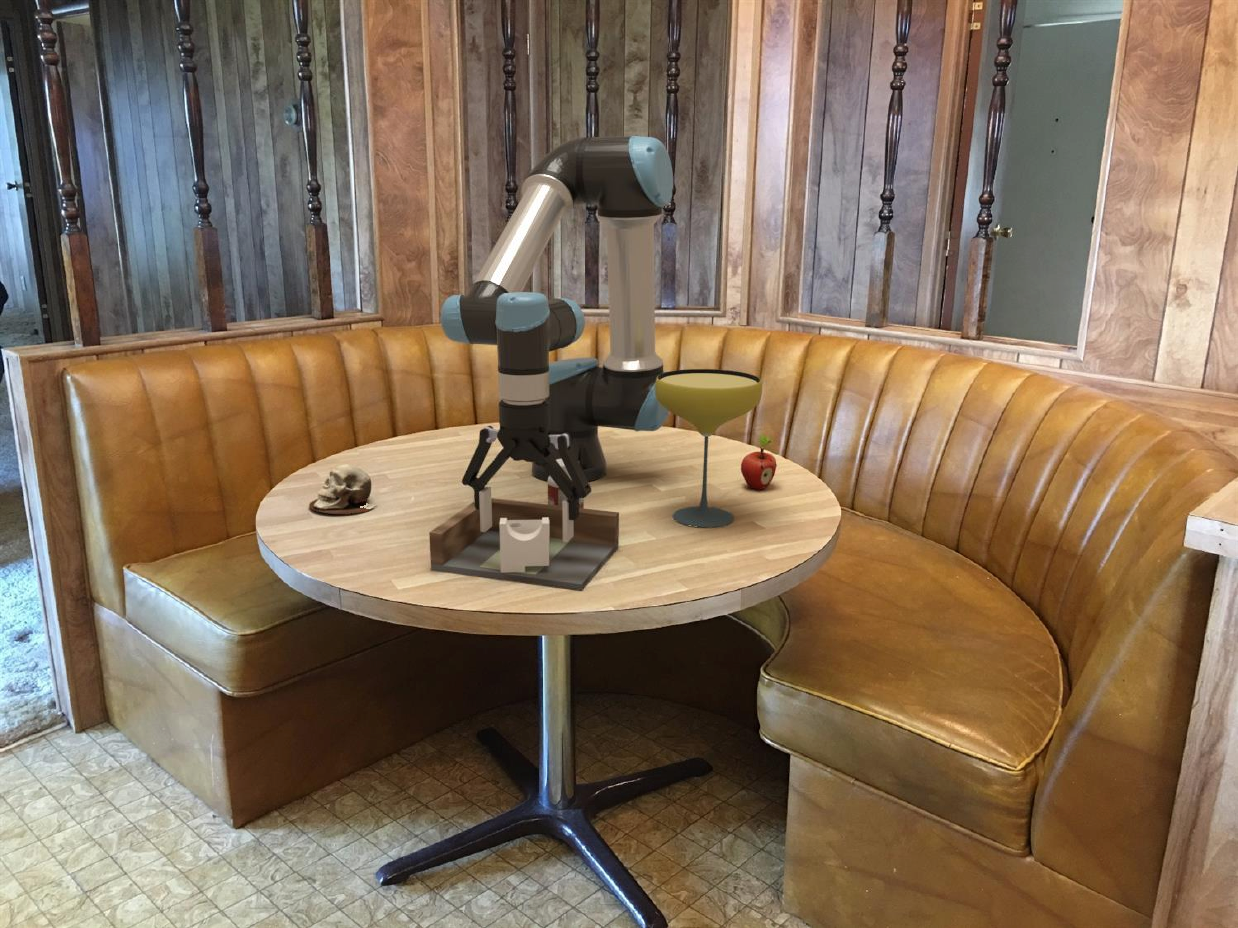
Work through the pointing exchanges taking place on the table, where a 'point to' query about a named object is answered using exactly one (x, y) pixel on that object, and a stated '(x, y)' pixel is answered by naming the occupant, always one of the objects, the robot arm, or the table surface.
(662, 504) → the table surface
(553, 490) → the pill bottle
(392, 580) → the table surface
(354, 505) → the skull
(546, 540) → the bracket
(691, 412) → the cocktail glass
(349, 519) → the table surface
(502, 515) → the tray
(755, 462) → the apple
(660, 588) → the table surface
